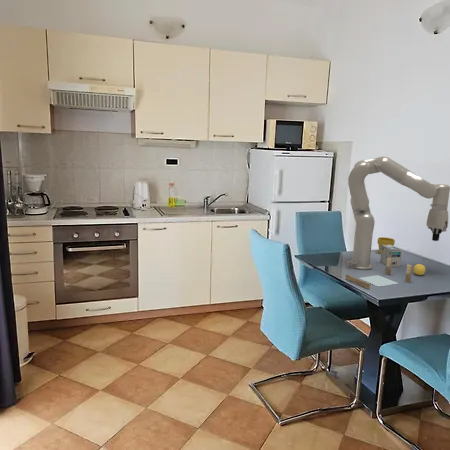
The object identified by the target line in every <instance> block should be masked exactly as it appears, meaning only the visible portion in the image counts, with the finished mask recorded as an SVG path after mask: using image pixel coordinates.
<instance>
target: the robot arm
mask: <svg viewBox="0 0 450 450" xmlns="http://www.w3.org/2000/svg"><path fill="white" fill-rule="evenodd" d="M379 173H381V174H383V175H384V176H387V177H388V178H389V179H392V180H393V181H395V182H396V183H398V184H400V185H402V186H404V187H407V188H408V189H409V190H412V191H414V192H416V193H417V194H418V195H419V196H420V197H423V198H425V199H432V203H430V207H431V208H430V209H429V211H428V215H427V218H426V226H427V229H429V230H430V231H431V233H432V237H431V238H432V239H431V241H433V242H438V241H439V240H440V235H441V234H442V233H444V232H447V229H448V227H449V211H448V207H449V205H448V204H449V198H450V185H449V184H445V183H444V184H442V183H439V184H438V183H437V184H435V183H430V182H429V181H427V180H426V179H424V178H423V177H420V176H419V175H417V174H415V172H413V171H412V170H410V169H408V168H407V167H404V166H403V165H402V164H399V162H397V161H395V160H393V159H391V158H390V157H387V156H379V157H374V158H367V159H364V160H363V159H362V160H359V161H357V162H356V163H354V166H353V168H352V169H351V171H350V173H349V175H348V178H347V183H348V184H347V185H348V188H349V189H348V190H349V193H350V194H349V195H350V205H351V209H352V213H353V214H352V215H353V218H354V222H355V229H354V230H355V231H354V239H353V251H352V258H351V259H350V260H346V261H345V264H346V265H348V266H349V267H350V268H353V269H356V270H363V271H364V270H367V271H368V270H371V269H372V268H373V265H372V264H370V263H371V253H372V246H373V245H372V244H373V234H374V229H375V223H376V222H375V217H374V215H373V214H372V213H371V208H370V205H369V204H370V199H369V197H368V196H369V195H368V192H367V190H366V184H365V179H366V177H367V176H368V175H373V174H379Z"/></svg>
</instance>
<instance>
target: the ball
mask: <svg viewBox="0 0 450 450" xmlns="http://www.w3.org/2000/svg"><path fill="white" fill-rule="evenodd" d="M412 272H413V273H414V274H415V275H417V276H423V275H424V274H425V273H426V267H425V265H423V264H421V263H418V264H415V265H414V266H413V267H412Z"/></svg>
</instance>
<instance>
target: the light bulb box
mask: <svg viewBox="0 0 450 450" xmlns="http://www.w3.org/2000/svg"><path fill="white" fill-rule="evenodd" d="M402 252H403V249H402V248H400V247H398V246H395V245H393V246H392V245H382V249H381V254H380V259H379V260H380V261H379V262H380V263H382V264H383V265H385V266H386V264H387V258H392V266H391V268H393V267H394V268H395V267H398V268H399V267H401V261H402Z"/></svg>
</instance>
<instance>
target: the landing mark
mask: <svg viewBox="0 0 450 450" xmlns="http://www.w3.org/2000/svg"><path fill="white" fill-rule="evenodd" d="M358 278H359V280H362V281H364V282H365V281H366V283H369V284H370V283H371V284H370V285H372V284H373V285H372V286H375V287H377V286H378V288H380V286H381V287H386V286H394V285H399V282H397V281H394V280H392V279H388V278H386V277H383V276H381V275H378V274H377V275H370V276H363V277H358Z"/></svg>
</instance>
